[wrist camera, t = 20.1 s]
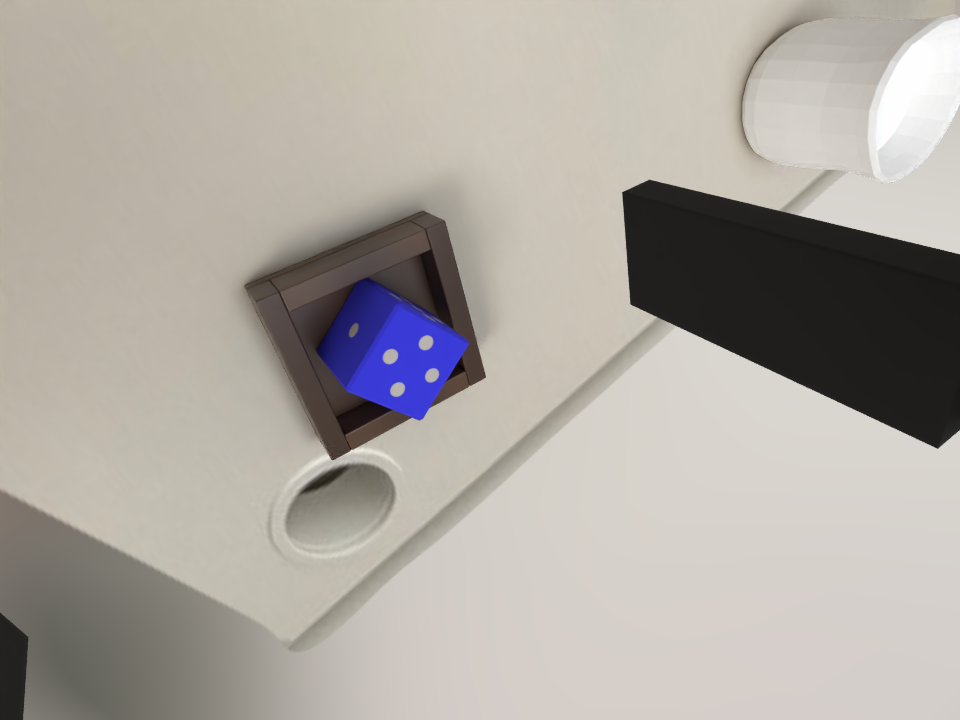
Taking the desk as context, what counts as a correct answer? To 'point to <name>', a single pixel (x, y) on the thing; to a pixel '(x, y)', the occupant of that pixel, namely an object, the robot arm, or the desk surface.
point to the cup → (855, 94)
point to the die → (390, 349)
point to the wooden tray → (321, 295)
